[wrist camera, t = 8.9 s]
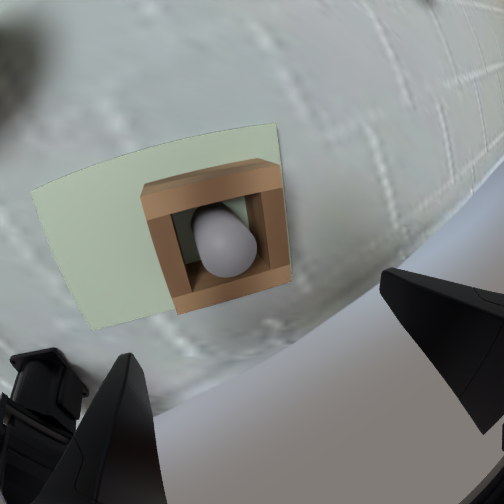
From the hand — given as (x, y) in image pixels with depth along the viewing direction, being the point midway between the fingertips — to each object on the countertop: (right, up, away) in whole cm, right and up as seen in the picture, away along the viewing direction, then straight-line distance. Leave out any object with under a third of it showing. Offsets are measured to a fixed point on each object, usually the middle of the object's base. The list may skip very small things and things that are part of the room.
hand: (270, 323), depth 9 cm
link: (-3, +4, +9) cm, 10 cm away
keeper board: (-6, +4, +9) cm, 11 cm away
